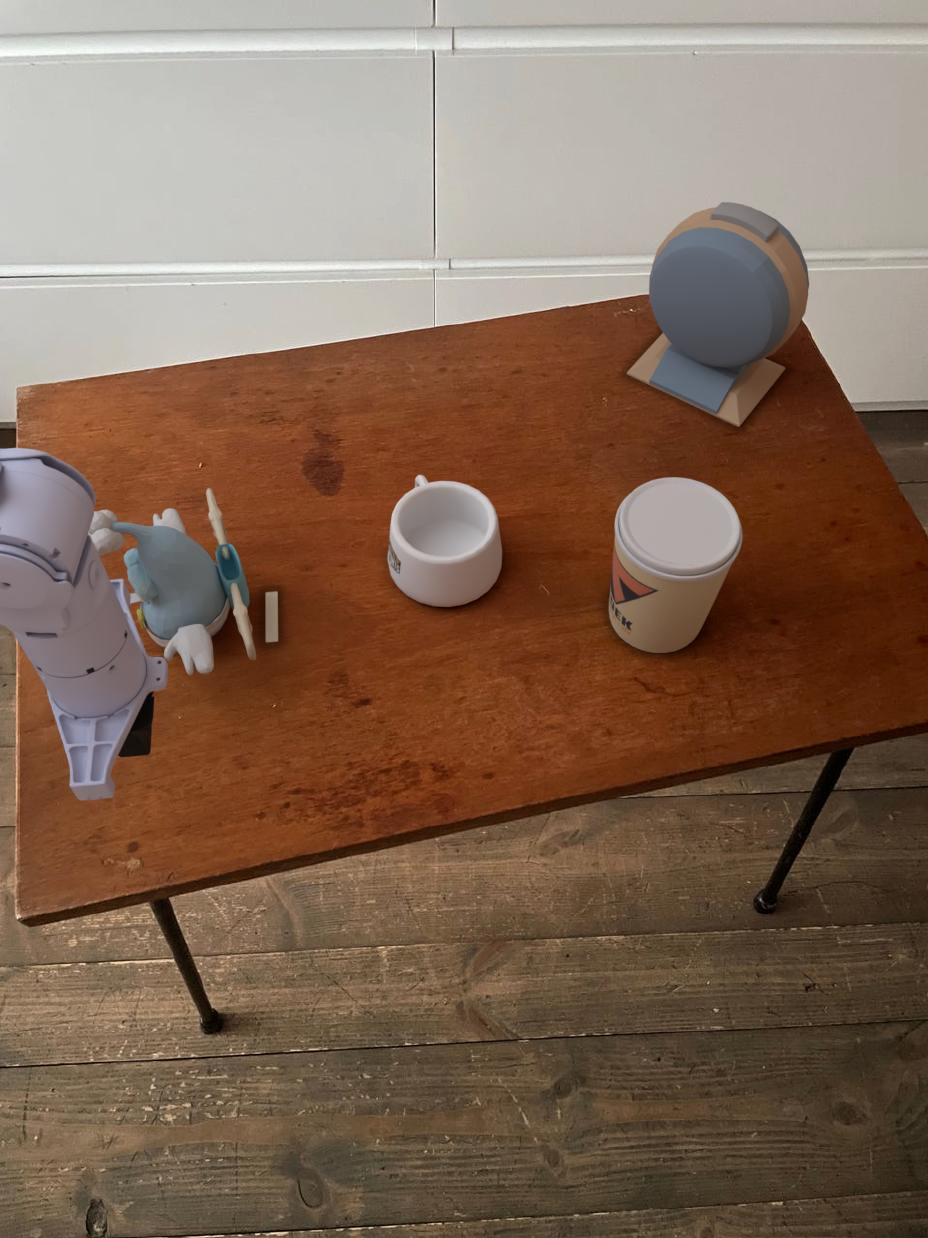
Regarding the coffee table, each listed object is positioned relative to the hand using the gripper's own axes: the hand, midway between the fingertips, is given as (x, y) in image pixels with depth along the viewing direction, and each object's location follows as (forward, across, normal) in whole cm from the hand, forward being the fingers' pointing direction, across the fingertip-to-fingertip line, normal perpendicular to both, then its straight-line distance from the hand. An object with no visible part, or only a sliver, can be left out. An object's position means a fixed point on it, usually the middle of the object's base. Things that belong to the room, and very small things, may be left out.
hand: (135, 747), depth 71 cm
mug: (+8, +20, -23) cm, 31 cm away
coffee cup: (+8, +12, -40) cm, 42 cm away
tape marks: (+8, +15, -2) cm, 17 cm away
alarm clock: (+8, +40, -51) cm, 65 cm away
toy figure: (+8, +15, -2) cm, 17 cm away
